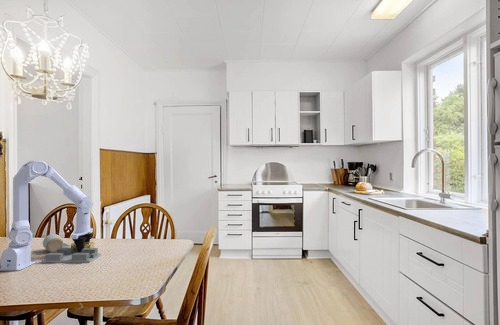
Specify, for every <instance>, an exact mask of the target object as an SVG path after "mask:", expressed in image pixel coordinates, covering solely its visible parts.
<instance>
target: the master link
mask: <svg viewBox="0 0 500 325" xmlns="http://www.w3.org/2000/svg"><path fill="white" fill-rule="evenodd" d="M70 248H73V253H81V252H77V248H76V245H75V243H74V242H72V243H70ZM84 248H95V241H94V242H93V241H91V240H90V241H89V242H85V243H84ZM84 248H83V249H84Z"/></svg>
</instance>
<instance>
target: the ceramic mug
mask: <svg viewBox="0 0 500 325" xmlns="http://www.w3.org/2000/svg"><path fill="white" fill-rule="evenodd" d="M42 246H43V248H44V249H45V250H46V251H47V252H49V253H52V252H56V253H57V249H59V248H71V244H70V245H69V244H68V243H65V242H64V240H63V238H62V237H61V236H60V235H58V234H56V233H52V234H48V235H46V236H45V237H44V238H43V241H42Z"/></svg>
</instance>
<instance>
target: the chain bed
mask: <svg viewBox="0 0 500 325" xmlns="http://www.w3.org/2000/svg"><path fill="white" fill-rule="evenodd" d="M98 249H99V248H98V247H94V248H84V249H82V252H81V253H73V248H71V247H70V248H59V249H57V252H49V253H46V254H45V256H44V259H42V260H41V264H43V263H44V264H64V263H65V264H68V263H69V264H81V263H82V264H83V263H84V264H86V263H87V264H89V263H91V262H93V261H94V260H96V259H98V258H99V257H101V255H102V253H100V252H99V250H98Z"/></svg>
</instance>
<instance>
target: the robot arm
mask: <svg viewBox="0 0 500 325" xmlns="http://www.w3.org/2000/svg"><path fill="white" fill-rule="evenodd" d="M37 177H45V178H48V179H49V180H51V181H52V182H54V183H55V184H56V185H57V186H58V187H59V188H61V189H62V192H63V195H64V196H65V197H66V198H67V199H69V200H70V201H71V202H72V203H74V206H75V207H76V217H75V218H76V220H75V221H76V222H75V225H76V226H75V232H74V233H73V234H72V235H71V239H72V241H73V243H75V245H76V248H77V252H82V249H83V248H84V243H85V242H89V241H91V239H92V237H93V231H94V228H93V227H91V209H92V207H93V206H94V203H93V200H92V199H91V198H90V197H88V196H87V193H84V192H82V191H81V189H80V187H79V186H78V185H75V184H69V182H67V181H66V179H65V178H63V176H61V175H60V174H59V172H57V171H56V169H55V168H54V167H52V166H51V165H49V164H48V163H47V162H45V161H44V160H40V159H38V160H37V159H36V160H30V161H28V162H26V163H24V164H23V165H22V166H21V168H20V169H19V170H18V172H17V173H15V175H14V176H13V177H12V178H13V179H12V223H11V229H10V230H9V233H8V239H9V240H10V241H9V243H8V247H7V248H6V249H4V250H3V251H2V253H1V259H0V271H1V272H3V271H8V272H9V271H11V272H12V271H13V272H15V271H16V272H17V271H21V270H23V269H26V268H28V267H30V266H32V265H34V264H37V261H31V260H32V240H33V237H34V234H33V232H32V231H31V226H30V222H29V221H30V220H29V183H30V182H31V181H33V180H35V178H37Z"/></svg>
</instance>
